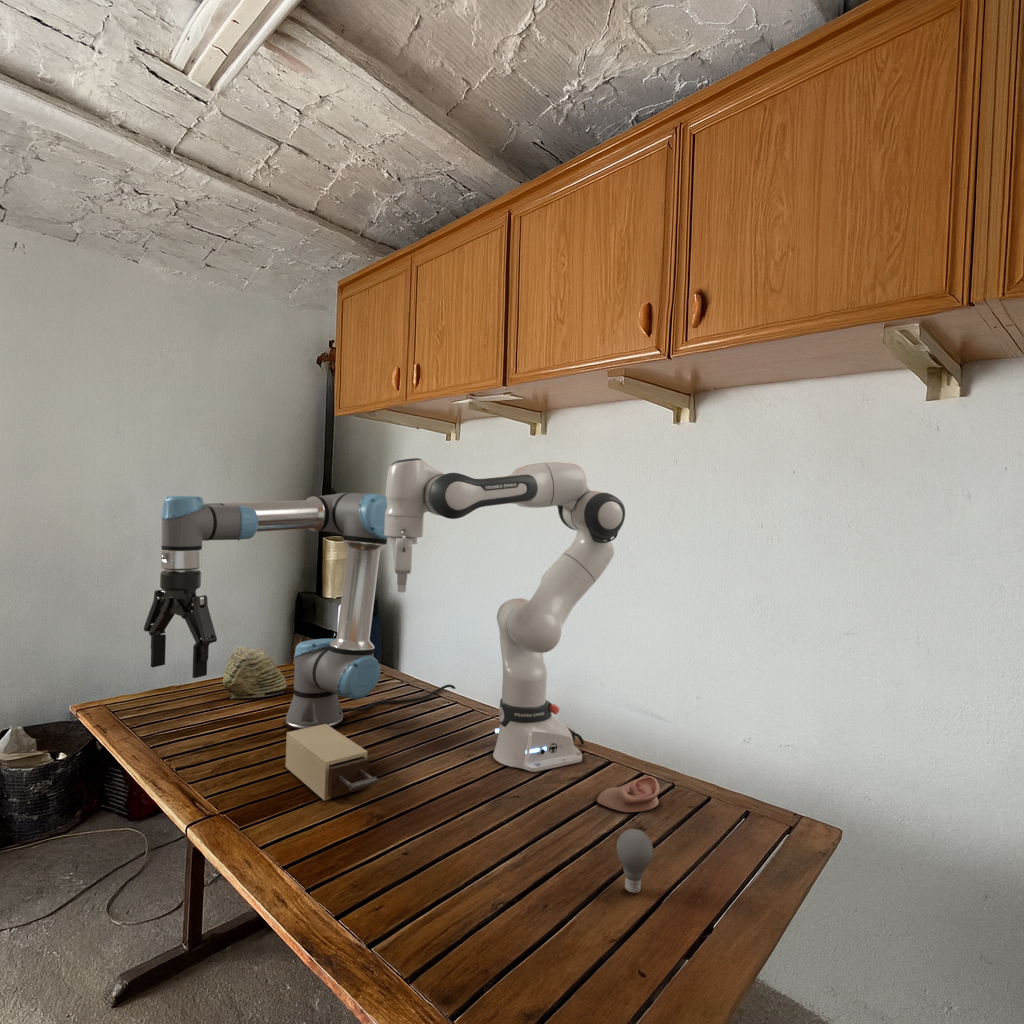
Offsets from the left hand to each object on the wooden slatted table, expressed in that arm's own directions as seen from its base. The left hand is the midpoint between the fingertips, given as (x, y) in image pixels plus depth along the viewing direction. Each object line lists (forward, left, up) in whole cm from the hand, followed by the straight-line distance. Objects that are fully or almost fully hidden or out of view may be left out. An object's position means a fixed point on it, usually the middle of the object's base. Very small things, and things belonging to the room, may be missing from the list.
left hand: (178, 671), depth 132 cm
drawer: (-25, +21, -25) cm, 41 cm away
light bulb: (-36, +88, -26) cm, 98 cm away
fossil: (-45, -48, -26) cm, 71 cm away
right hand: (-38, +26, +17) cm, 49 cm away
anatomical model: (-64, +72, -26) cm, 100 cm away
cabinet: (-26, +16, -26) cm, 40 cm away
